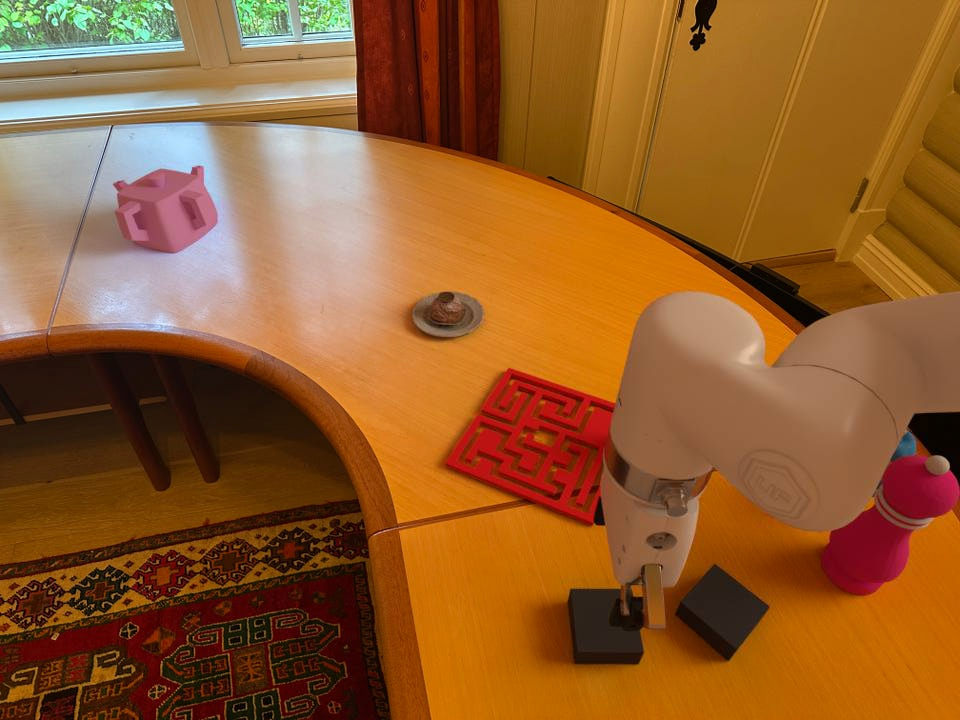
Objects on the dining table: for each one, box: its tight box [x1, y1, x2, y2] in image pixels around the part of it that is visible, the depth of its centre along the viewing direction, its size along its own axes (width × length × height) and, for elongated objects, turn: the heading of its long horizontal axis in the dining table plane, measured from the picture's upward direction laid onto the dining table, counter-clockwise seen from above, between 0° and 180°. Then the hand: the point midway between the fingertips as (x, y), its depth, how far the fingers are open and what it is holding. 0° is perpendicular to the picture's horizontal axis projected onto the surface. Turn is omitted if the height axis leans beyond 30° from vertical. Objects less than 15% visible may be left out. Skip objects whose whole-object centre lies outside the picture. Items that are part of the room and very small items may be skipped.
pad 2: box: [674, 563, 771, 662], centre depth 63 cm, size 6×6×3 cm
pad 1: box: [567, 588, 645, 665], centre depth 62 cm, size 6×6×3 cm
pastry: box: [411, 291, 485, 339], centre depth 100 cm, size 12×12×5 cm
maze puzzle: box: [444, 367, 616, 527], centre depth 82 cm, size 20×20×1 cm
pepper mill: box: [820, 454, 960, 596], centre depth 62 cm, size 7×7×20 cm
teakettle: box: [112, 165, 219, 254], centre depth 117 cm, size 17×17×12 cm
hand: (617, 569), depth 55 cm, fingers open, 9 cm apart
